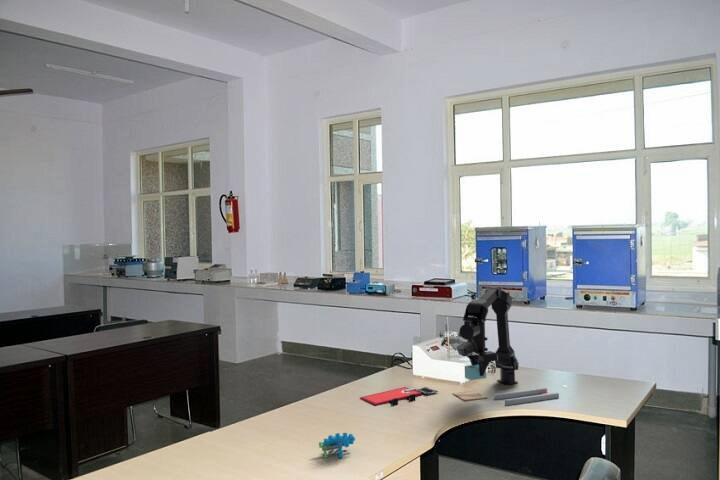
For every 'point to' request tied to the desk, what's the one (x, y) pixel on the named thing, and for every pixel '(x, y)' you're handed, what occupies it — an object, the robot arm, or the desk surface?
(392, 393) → the red board with handle
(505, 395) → the channel
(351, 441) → the blue plastic figure
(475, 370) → the teal block
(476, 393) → the walnut pad
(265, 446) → the desk surface
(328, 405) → the desk surface
